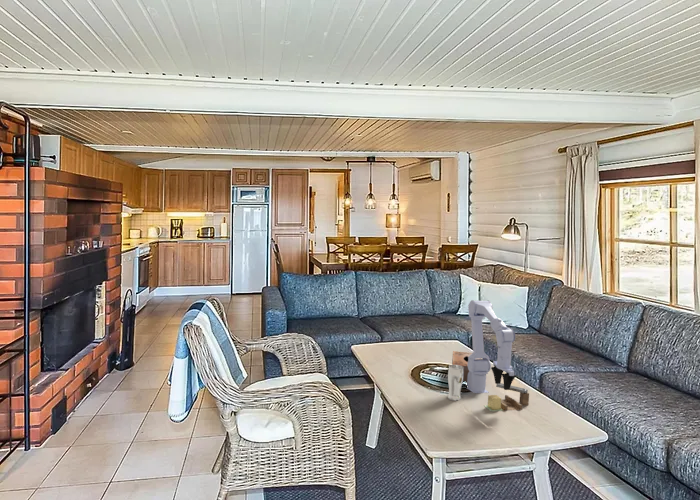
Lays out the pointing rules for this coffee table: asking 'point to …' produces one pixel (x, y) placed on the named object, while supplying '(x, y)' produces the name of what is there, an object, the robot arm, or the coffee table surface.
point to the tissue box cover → (462, 362)
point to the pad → (491, 409)
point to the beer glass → (455, 382)
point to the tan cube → (494, 402)
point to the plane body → (514, 402)
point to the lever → (513, 388)
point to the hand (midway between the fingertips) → (502, 386)
